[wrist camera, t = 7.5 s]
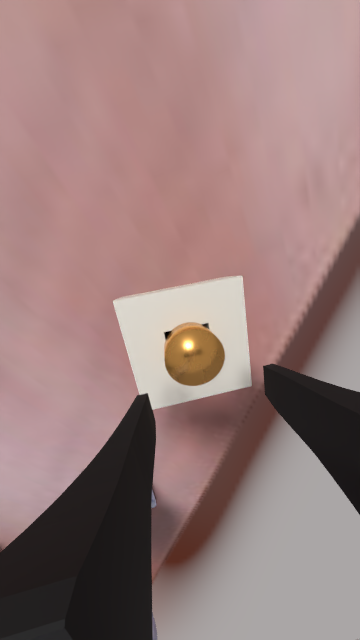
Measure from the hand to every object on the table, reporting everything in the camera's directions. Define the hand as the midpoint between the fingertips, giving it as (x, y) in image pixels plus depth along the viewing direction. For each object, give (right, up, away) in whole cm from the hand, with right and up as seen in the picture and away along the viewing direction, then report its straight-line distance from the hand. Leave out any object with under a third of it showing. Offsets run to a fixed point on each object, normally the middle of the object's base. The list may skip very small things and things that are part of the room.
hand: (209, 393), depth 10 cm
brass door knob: (-1, +3, +10) cm, 10 cm away
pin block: (-1, +2, +10) cm, 10 cm away
